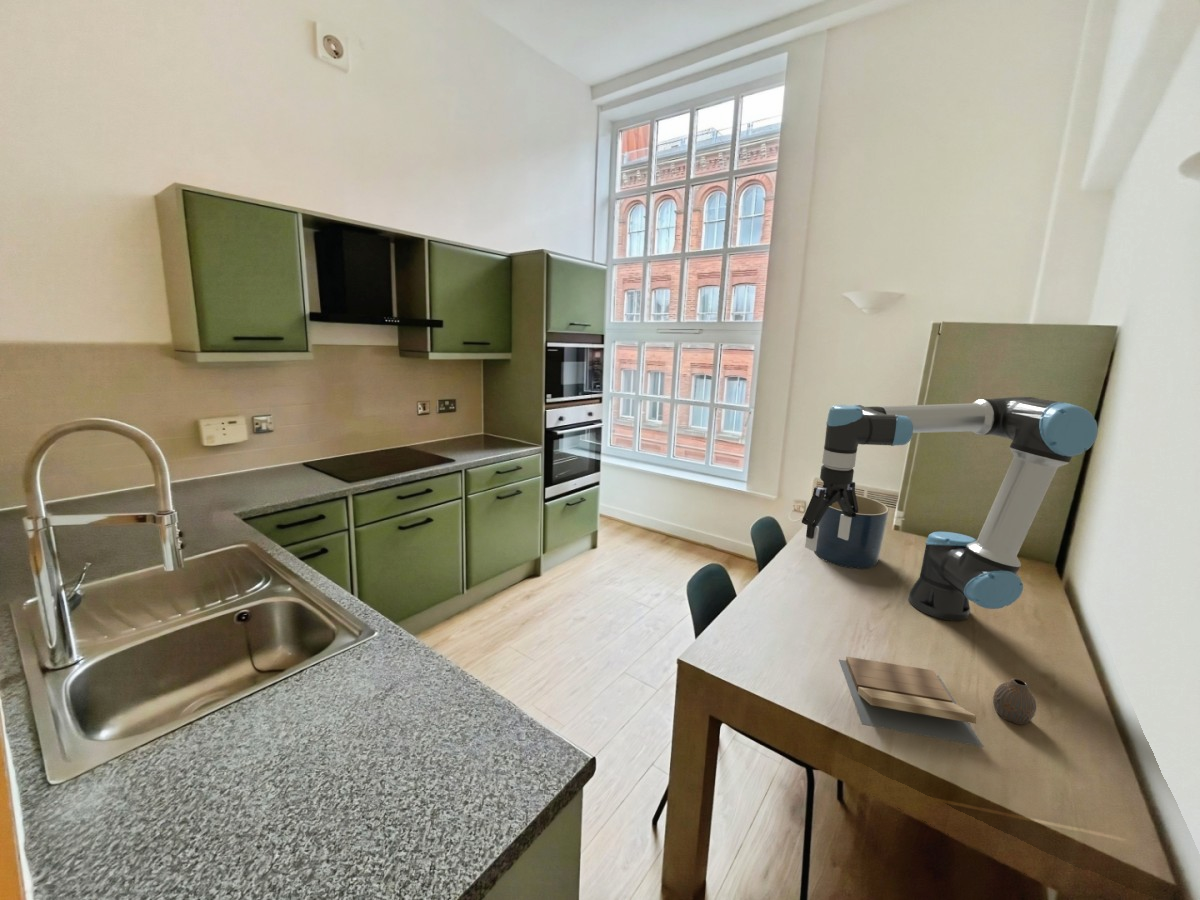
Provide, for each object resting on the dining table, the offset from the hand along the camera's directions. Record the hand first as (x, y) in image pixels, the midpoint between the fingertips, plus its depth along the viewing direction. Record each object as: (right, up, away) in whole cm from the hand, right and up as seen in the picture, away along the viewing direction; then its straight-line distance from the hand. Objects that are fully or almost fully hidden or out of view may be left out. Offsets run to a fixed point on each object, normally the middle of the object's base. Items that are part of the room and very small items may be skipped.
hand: (827, 543), depth 130 cm
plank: (+6, -30, -26) cm, 40 cm away
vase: (+28, -32, -25) cm, 49 cm away
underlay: (+7, -31, -21) cm, 38 cm away
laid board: (+8, -29, -16) cm, 34 cm away
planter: (+29, -14, +50) cm, 59 cm away
